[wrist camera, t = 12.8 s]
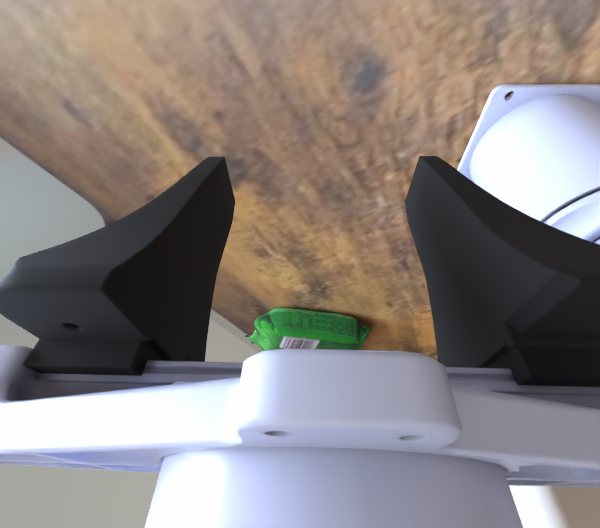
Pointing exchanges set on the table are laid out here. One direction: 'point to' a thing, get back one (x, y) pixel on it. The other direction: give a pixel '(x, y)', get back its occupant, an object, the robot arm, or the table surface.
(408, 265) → the table surface
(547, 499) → the cylindrical container
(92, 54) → the table surface
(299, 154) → the table surface
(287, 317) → the snack package
